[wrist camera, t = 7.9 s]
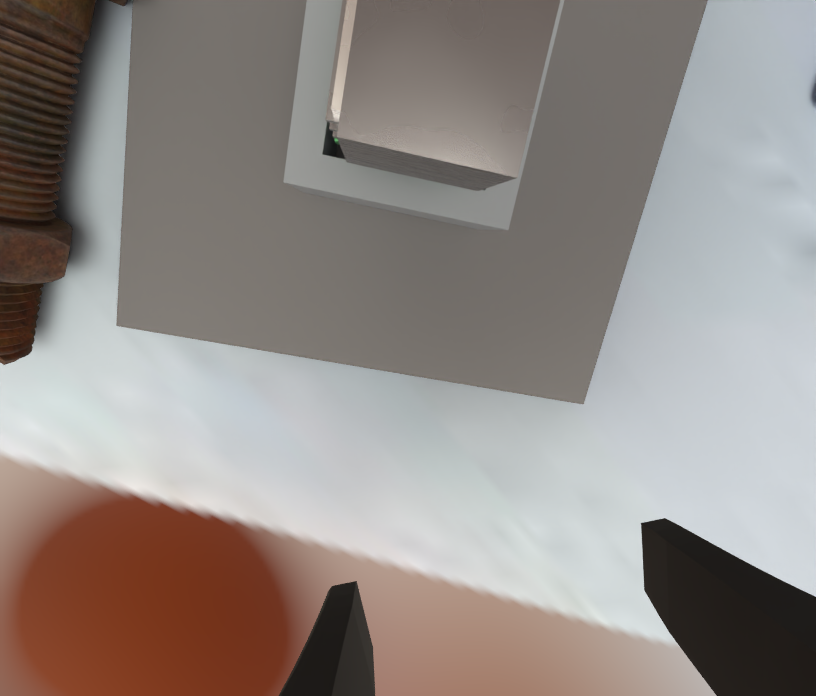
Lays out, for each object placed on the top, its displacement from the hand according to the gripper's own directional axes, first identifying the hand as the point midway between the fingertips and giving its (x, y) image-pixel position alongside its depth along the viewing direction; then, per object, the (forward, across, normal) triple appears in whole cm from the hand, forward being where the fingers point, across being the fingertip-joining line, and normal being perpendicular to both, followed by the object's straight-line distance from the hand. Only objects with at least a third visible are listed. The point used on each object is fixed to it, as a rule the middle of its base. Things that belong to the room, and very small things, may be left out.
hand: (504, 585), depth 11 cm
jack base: (+10, -1, -13) cm, 16 cm away
